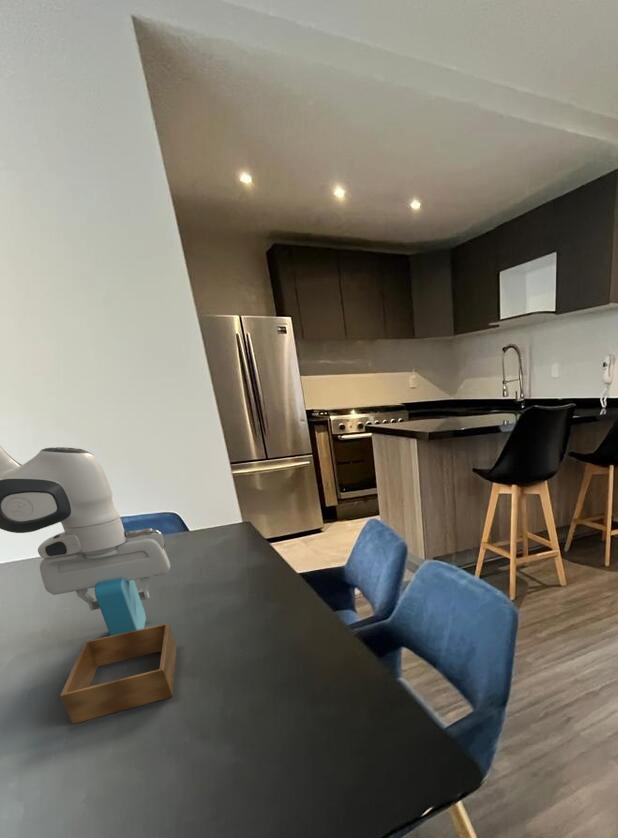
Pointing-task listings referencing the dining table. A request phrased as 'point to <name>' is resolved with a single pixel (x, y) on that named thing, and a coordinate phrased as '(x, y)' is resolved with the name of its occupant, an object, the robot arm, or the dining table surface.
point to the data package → (120, 605)
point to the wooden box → (122, 692)
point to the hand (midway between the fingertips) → (121, 603)
